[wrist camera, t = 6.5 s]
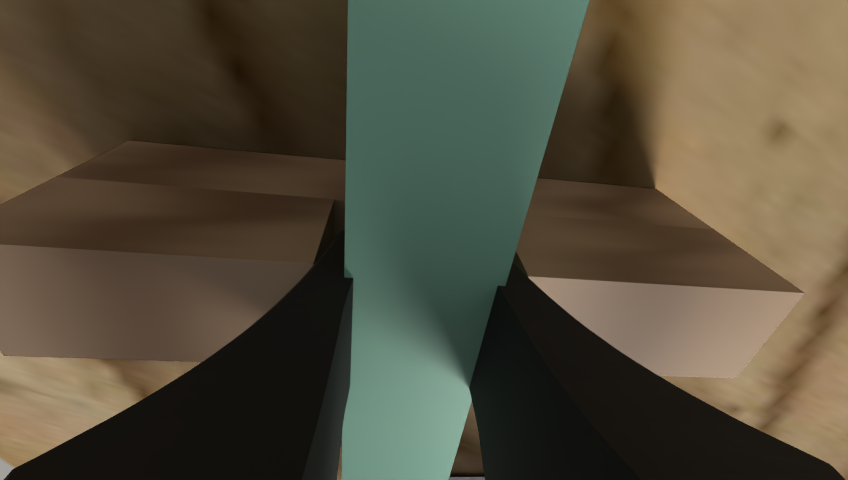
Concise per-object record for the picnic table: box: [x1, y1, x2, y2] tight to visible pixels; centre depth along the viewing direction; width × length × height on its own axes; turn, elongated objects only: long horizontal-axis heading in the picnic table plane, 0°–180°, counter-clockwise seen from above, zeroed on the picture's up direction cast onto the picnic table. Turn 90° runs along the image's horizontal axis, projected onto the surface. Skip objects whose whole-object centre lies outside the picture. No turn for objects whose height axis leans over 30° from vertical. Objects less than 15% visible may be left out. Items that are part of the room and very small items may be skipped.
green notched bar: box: [342, 0, 589, 480], centre depth 10 cm, size 14×3×6 cm, turn 173°
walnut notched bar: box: [0, 141, 805, 378], centre depth 11 cm, size 18×3×6 cm, turn 83°
